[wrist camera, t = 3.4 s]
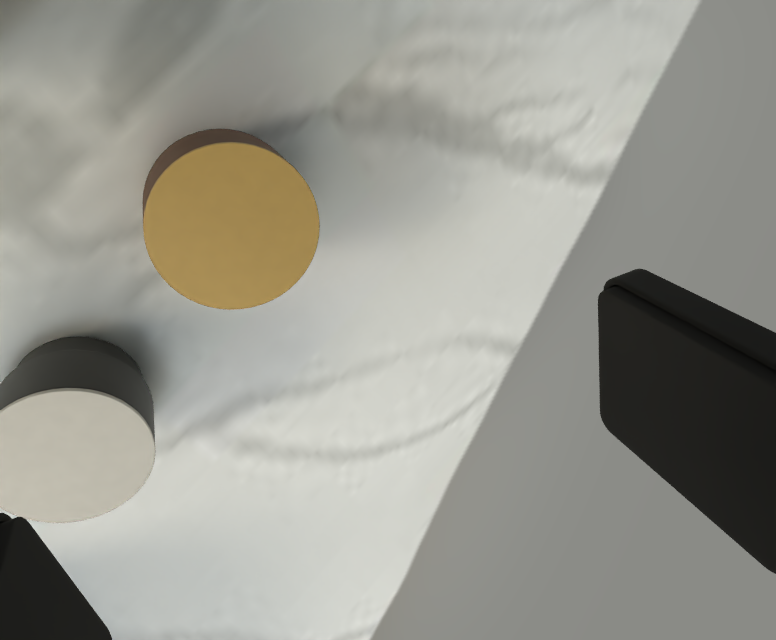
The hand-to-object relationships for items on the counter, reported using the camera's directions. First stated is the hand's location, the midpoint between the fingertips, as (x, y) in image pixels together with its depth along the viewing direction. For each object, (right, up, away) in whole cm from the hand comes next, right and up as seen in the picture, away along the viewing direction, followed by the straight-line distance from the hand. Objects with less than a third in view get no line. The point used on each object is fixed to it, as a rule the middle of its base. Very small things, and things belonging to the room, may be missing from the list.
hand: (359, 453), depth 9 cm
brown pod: (-6, +7, +14) cm, 17 cm away
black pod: (-12, -1, +15) cm, 20 cm away
